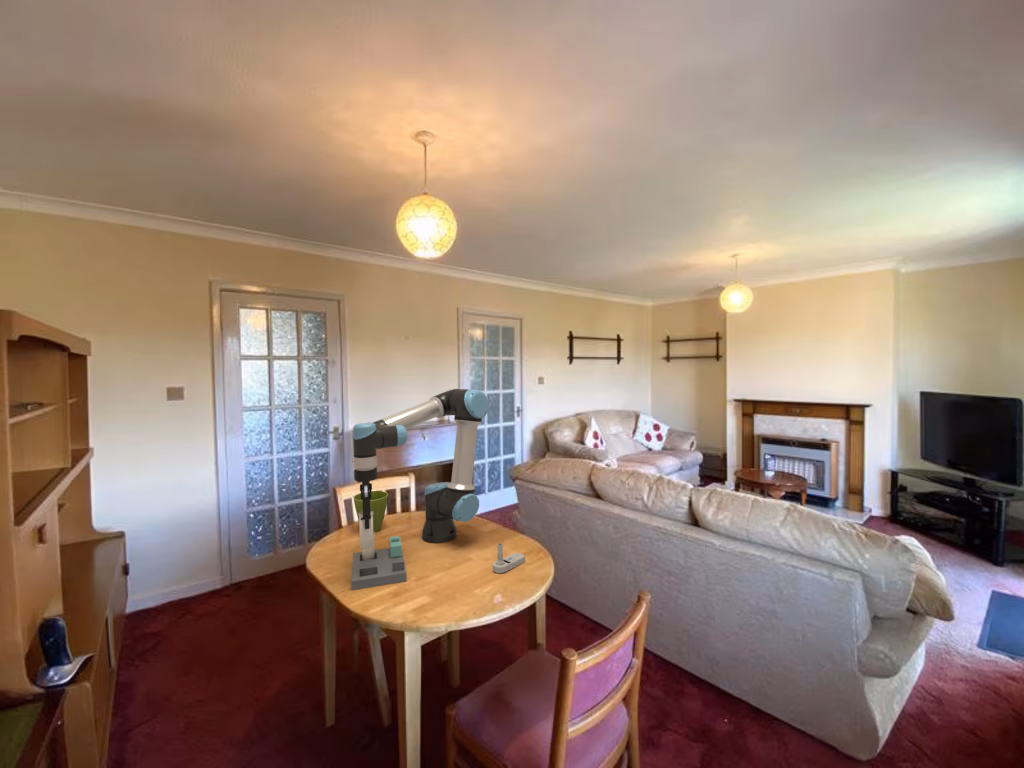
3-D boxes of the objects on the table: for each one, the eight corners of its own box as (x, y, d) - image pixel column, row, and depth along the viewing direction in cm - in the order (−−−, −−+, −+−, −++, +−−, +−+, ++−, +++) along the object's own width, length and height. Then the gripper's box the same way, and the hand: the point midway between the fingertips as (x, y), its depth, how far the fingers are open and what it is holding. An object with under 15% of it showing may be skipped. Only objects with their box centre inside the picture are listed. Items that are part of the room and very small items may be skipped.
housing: (401, 553, 178) (401, 538, 177) (406, 581, 155) (406, 564, 155) (353, 560, 172) (353, 545, 172) (351, 590, 149) (350, 572, 149)
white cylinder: (375, 560, 172) (374, 530, 171) (375, 566, 167) (374, 534, 166) (362, 562, 170) (361, 531, 170) (361, 568, 166) (360, 536, 165)
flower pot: (387, 534, 198) (386, 499, 197) (352, 538, 195) (351, 501, 194) (389, 523, 213) (388, 489, 212) (356, 526, 209) (355, 492, 209)
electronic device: (527, 536, 169) (500, 548, 158) (527, 562, 169) (500, 575, 158) (516, 533, 173) (489, 544, 161) (516, 558, 173) (489, 571, 161)
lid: (400, 545, 177) (399, 533, 177) (402, 555, 168) (401, 543, 168) (389, 547, 176) (389, 535, 176) (390, 557, 167) (390, 544, 166)
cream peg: (373, 543, 158) (372, 509, 158) (374, 548, 154) (373, 513, 154) (359, 545, 157) (358, 511, 156) (359, 550, 152) (358, 515, 152)
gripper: (354, 464, 161) (356, 527, 162) (353, 474, 145) (355, 545, 146) (376, 462, 164) (377, 525, 165) (377, 472, 147) (379, 542, 148)
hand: (367, 534), depth 155 cm, fingers closed on cream peg, 4 cm apart
